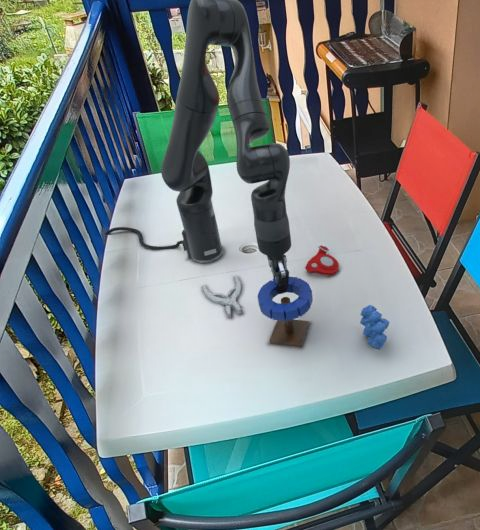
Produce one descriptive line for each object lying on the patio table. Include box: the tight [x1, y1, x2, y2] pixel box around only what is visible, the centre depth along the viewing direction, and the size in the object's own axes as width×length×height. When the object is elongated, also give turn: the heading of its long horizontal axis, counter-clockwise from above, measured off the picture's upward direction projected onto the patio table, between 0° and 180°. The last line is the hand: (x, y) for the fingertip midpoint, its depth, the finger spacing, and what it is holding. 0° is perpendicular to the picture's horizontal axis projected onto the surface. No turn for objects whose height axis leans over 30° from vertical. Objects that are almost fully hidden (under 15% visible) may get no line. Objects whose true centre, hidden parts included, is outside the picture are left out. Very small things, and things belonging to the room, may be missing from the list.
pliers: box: [202, 275, 243, 319], centre depth 133 cm, size 10×2×15 cm
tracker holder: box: [304, 244, 340, 276], centre depth 144 cm, size 12×4×10 cm
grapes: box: [359, 304, 390, 350], centre depth 119 cm, size 12×7×12 cm, turn 23°
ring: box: [257, 276, 314, 321], centre depth 117 cm, size 12×12×3 cm
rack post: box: [268, 296, 310, 347], centre depth 121 cm, size 8×8×12 cm
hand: (280, 288), depth 121 cm, fingers closed on ring, 2 cm apart
